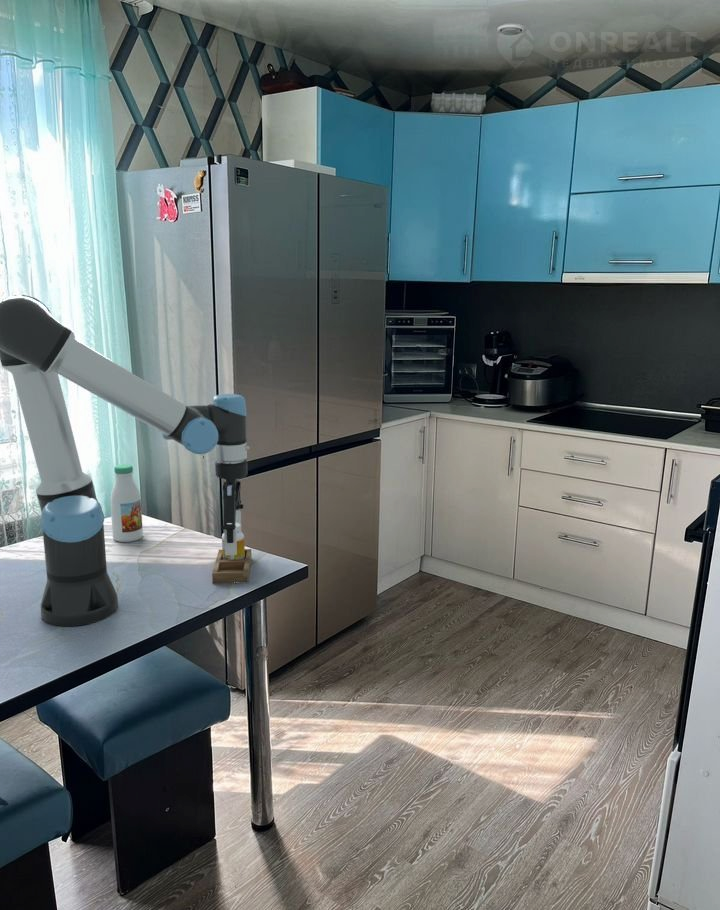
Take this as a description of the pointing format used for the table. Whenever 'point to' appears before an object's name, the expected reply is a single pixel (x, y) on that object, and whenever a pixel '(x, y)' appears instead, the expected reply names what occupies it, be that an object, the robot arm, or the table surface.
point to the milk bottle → (125, 506)
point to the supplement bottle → (239, 545)
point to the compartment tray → (231, 569)
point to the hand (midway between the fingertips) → (233, 544)
